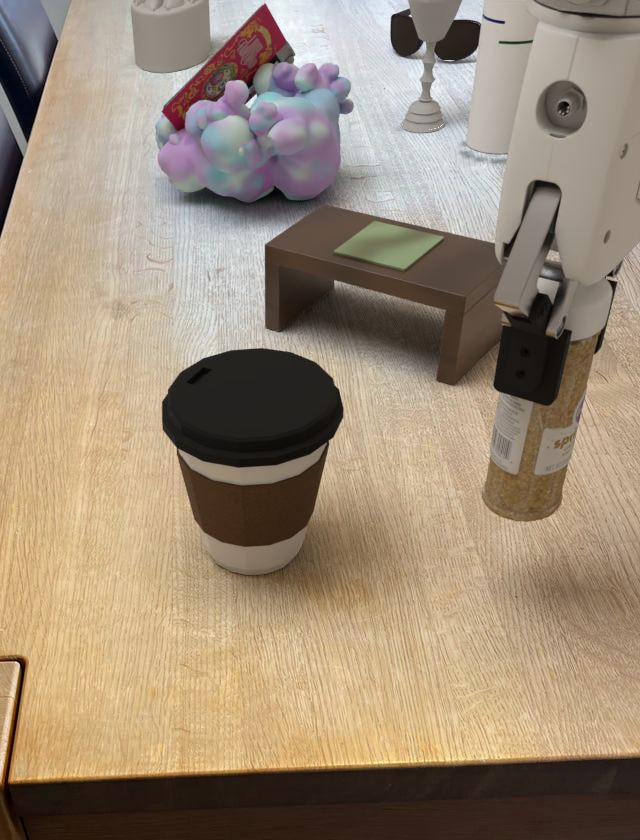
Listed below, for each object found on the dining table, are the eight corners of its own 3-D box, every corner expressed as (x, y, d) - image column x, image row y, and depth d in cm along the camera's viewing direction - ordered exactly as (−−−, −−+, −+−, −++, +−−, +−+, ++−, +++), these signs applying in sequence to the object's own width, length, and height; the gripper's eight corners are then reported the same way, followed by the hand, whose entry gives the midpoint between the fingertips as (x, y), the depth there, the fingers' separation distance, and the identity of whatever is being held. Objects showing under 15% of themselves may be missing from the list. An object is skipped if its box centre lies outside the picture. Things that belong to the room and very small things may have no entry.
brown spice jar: (565, 526, 57) (621, 306, 47) (481, 524, 58) (519, 307, 48) (556, 476, 60) (607, 260, 50) (477, 475, 61) (512, 262, 51)
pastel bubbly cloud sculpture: (286, 203, 94) (339, -11, 89) (94, 165, 102) (131, -34, 96) (348, 236, 112) (396, 59, 106) (180, 201, 120) (216, 35, 114)
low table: (504, 335, 84) (520, 245, 78) (453, 385, 79) (466, 294, 74) (320, 285, 93) (323, 201, 87) (264, 327, 88) (264, 241, 82)
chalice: (380, 122, 119) (393, -58, 107) (426, 109, 121) (444, -70, 108) (418, 140, 115) (436, -46, 102) (466, 126, 116) (490, -59, 104)
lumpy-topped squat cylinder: (215, 42, 146) (213, -28, 140) (199, 71, 138) (196, -1, 132) (146, 44, 149) (140, -25, 142) (126, 73, 140) (119, 2, 134)
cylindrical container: (492, 125, 116) (532, -146, 98) (545, 139, 112) (597, -142, 94) (452, 143, 113) (486, -132, 95) (505, 158, 109) (551, -127, 91)
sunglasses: (378, 55, 137) (380, 13, 133) (431, 23, 145) (435, -18, 141) (471, 67, 130) (477, 24, 127) (522, 32, 138) (528, -9, 135)
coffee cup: (141, 567, 67) (122, 413, 59) (226, 479, 73) (220, 328, 65) (285, 623, 62) (288, 465, 54) (363, 524, 68) (376, 368, 60)
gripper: (646, 40, 33) (545, 479, 46) (802, -87, 42) (679, 316, 55) (440, 17, 37) (401, 431, 50) (621, -96, 45) (547, 284, 58)
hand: (547, 367), depth 52 cm, fingers closed on brown spice jar, 4 cm apart
